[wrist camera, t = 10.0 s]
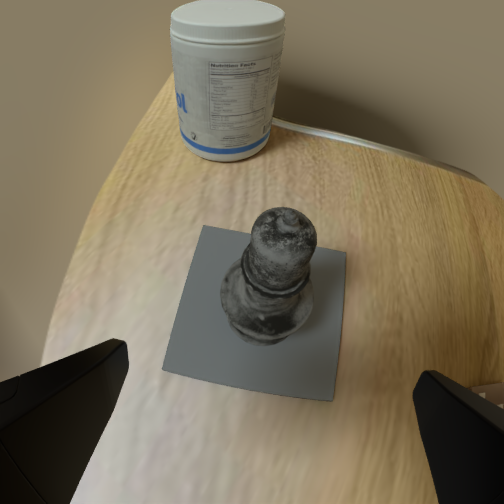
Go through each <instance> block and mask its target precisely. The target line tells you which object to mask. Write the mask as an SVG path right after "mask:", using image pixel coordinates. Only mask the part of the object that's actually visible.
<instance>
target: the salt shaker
mask: <svg viewBox="0 0 504 504" xmlns="http://www.w3.org/2000/svg"><path fill="white" fill-rule="evenodd" d="M316 245H317V234H316V231H315V228H314V226H313V224H312V223H311V221H310V220H309V219H308V218H307V217H306V216H305V215H304V214H302V213H301V212H299V211H297V210H295V209H292V208H287V207H277V208H272V209H269V210H266V211H265V212H263V213H262V214H261V215H260V216H259V217H258V218H257V219H256V221H255V223H254V225H253V227H252V231H251V240H250V243H249V245H248V246H247V247H246V248H245V249H244V251H243V254H242V256H241V258H240V259H239V260H237V261H236V262H234V263H233V264H232V265H231V267H230V268H229V269H228V270H227V271H226V273H225V276H224V278H223V280H222V282H221V290H220V298H221V304H222V308H223V310H224V312H225V314H226V316H227V321H228V323H229V325H230V327H231V329H232V330H233V332H234V333H235V334H236V335H237V336H238V337H239V338H241V339H242V340H244V341H245V342H247V343H250V344H253V345H257V346H269V345H274V344H277V343H279V342H281V341H283V340H284V339H285V338H287V337H288V336H289V335H290V334H292V333H294V332H296V331H297V330H298V329H299V328H300V327H301V326H303V325H304V324H305V322H306V321H307V319H308V317H309V316H310V314H311V312H312V308H313V305H314V289H313V285H312V282H311V279H310V274H311V264H310V260H311V258H312V256H313V254H314V252H315V249H316Z"/></svg>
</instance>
